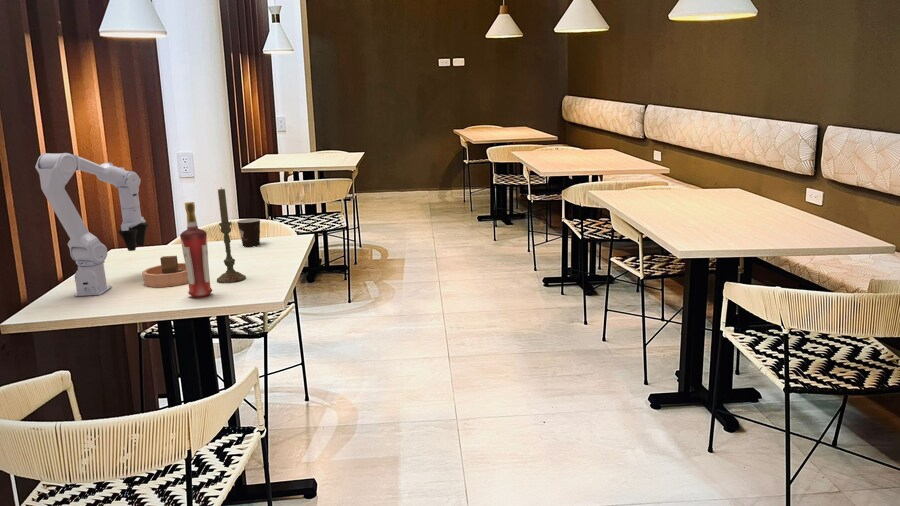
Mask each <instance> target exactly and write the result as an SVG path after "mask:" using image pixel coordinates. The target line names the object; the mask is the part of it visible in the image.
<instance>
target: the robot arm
mask: <svg viewBox="0 0 900 506" xmlns="http://www.w3.org/2000/svg"><path fill="white" fill-rule="evenodd" d="M34 168H35V169H36V171H37V173H38V175H39V181H40V188H41V191H42V192H43V194H44V196H45V198H46V200H47V201H48V203H49V205H50V206H51V208H52V210H53V212H54V213H55V215H56V217H57V218H58V220H59V222H60V224H61V226H62V227H63V228H64V230H65V232H66V233H67V236H68V237H69V239H70V240H69V241H68V242H67V246H68V248H69V253H70V254H69V255H70V257H71V259H72V260H73V261H75V264H76V265H77V270H76V272H75V273H74V282H75V287H76V293H75V294H74V297H83V296H87V297H88V296H101V295H102V294H104V293H106V292H107V291H109V290H111V288H113V285H108V284H107V277H106V271H105V264H104V263H106V262H105V260H106V259H107V257H108V248H107V246H106V245H105V244H104V243H102V242H101V241H100V240H99V238H98V237H97V236H95V235H94V234H93V233H91V232H90V231H89V229H88V228H87V226H86V224H85V223H84V221H83V219H82V218H81V215H80V214H79V212H78V210H77V208H76V206H75V205H74V203H73V201H72V200H71V197H70V195H69V193H68V192H67V191H66V185H67V184H68V183H69V181H70V179H71V178H72V177H73V175H74V173H76V171H81V172H84V173H87V174H91V175H95V176H96V179H98V180H99V181H101V182H104V183H107V184H110V185H113V186H114V187H115V188H116V189H118V196H119V201H120V202H119V203H120V210H121V217H122V223H121V225H120V228H121V229H118V231H117V232H118V234H119V235H120V237H121V238H122V240H123V242H124V243H125V247H126V249H127V250H128V252H134V251H136V249H137V247H142V246H145V240H146V239H145V238H146V232H147V229H148V227H149V223H147V222H146V219H145V217H144V216H142V212H141V204H140V197H139V192H140V185H141V181H142V179H141V178H140V176H139V175H138V174H137V172H135V171H133V170H125V167H122V166H121V167H119V166H115V165H114V164H113V162H105V163H103V162H102V163H101V164H98V163H96V162H93V161H91V160H89V159H87V158H83V157H80V155H77V154H71V153H69V152H63V153H49V152H47V153H46V152H45V153H42V154H41V155H40V156H39V157H38V159H37V161H36V164H35V167H34Z"/></svg>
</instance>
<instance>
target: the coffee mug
mask: <svg viewBox="0 0 900 506" xmlns="http://www.w3.org/2000/svg"><path fill="white" fill-rule="evenodd" d="M237 226H238V231H239V235H240V239H241V244H242V247H243V246H244V247H243V248H254V247H253V246H256V247H259V246H260V241H261V235H260V234H261V219H259V218H246V219H245V218H243V219H239V220H237ZM258 245H259V246H258Z"/></svg>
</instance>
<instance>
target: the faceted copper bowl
mask: <svg viewBox="0 0 900 506" xmlns="http://www.w3.org/2000/svg"><path fill="white" fill-rule="evenodd" d="M178 269H179V272H177V273H164V274H162V267H161V264H159V265H156V266H152V267H148V268H146V269H144V270H143V271H141V272H142V281H143V282H144V285H145V286H146V287H148V288H169V287H170V288H171V287H178V286H182V285H186V284H188V277H187V271H186V265H185V262H178Z"/></svg>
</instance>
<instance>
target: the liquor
mask: <svg viewBox="0 0 900 506" xmlns="http://www.w3.org/2000/svg"><path fill="white" fill-rule="evenodd" d="M184 209H185V211H186V212H185V213H186V230H183V231H182V232H181V233H180V234H179V236H180V237H179V238H180V242H181V244H180V245H181V248H182V254H183V260H184V263H185V265H186V271H187V277H188V283H187V284H188V289H189V290H188V292H187V294H188V295H189V296H191V298H193V299H201V298H205V297H209V295H210V294H211V293H212V292H213V289H212V288H211V280H210V267H209V252H208V251H209V249H208V236H207V232H206V231H205V230H203V229H201V228H199V227H198V226H199V225H198V221H197V217H196V214H195V212H196V205H195V202H194V201H188V202H185V203H184Z"/></svg>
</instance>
